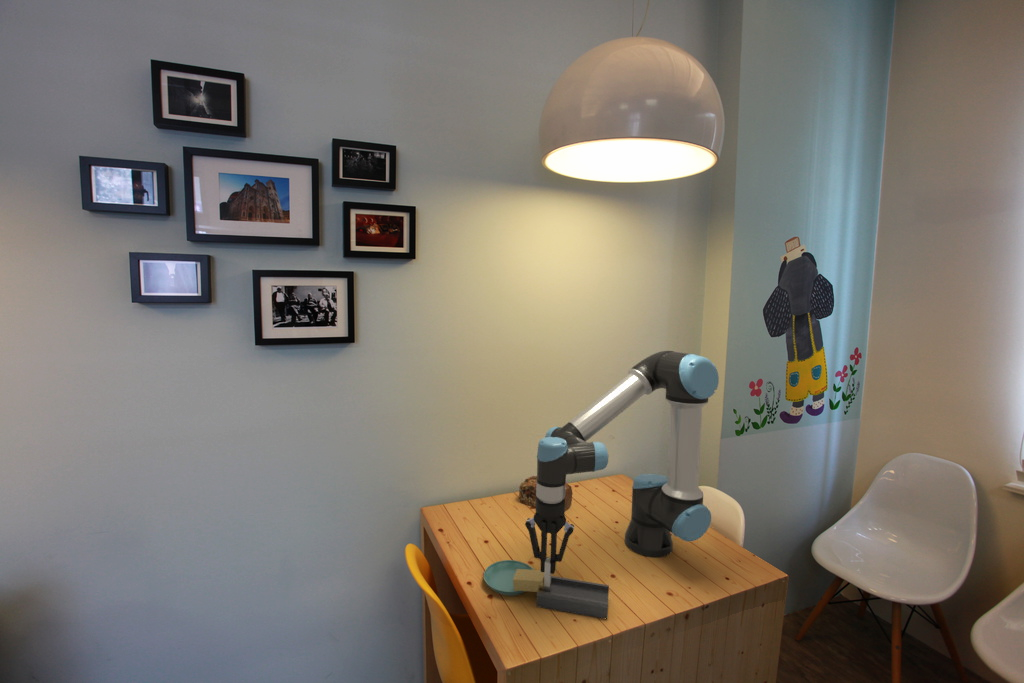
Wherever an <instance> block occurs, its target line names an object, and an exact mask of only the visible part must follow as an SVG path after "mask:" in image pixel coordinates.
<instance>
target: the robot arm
mask: <svg viewBox="0 0 1024 683" xmlns="http://www.w3.org/2000/svg"><path fill="white" fill-rule="evenodd" d="M719 377H720V376H719V371H718V369H717V367H716V365H715V364H714V363H713V362H712V361H711V360H710V359H709V358H707V357H705V356H701V355H698V354H695V353H687V352H681V351H680V352H678V351H673V350H661V351H658V352H655V353H653V354H650V355H649V356H647V357H645V358H643V359H642V360H640V361H639V362H637V363H636V364H635V365H633V367H631V368H629V370H628V371H627V376H625V377H624V378H622V379H621V380H620V381H619V382H617V384H615V385H613V387H611V388H610V389H609V390H607V391H606V392H605V393H603V395H601V396H600V397H599V398H597V399H596V400H594V401H593V402H592V403H591V404H590V405H589V406H588V407H586V408H585V409H583V410H582V411H581V412H580V413H579V414H577V415H576V416H575V417H572V419H571V420H570V421H569V422H567V423H565V425H563V426H562V427H560V426H553V427H551V428H549V429H548V430H547V432H546V433H545V436H544V437H543V438H540V440H539V441H538V445H537V453H536V454H537V455H536V460H537V461H536V462H537V464H536V476H537V485H536V496H537V498H536V508H535V513H534V514H533V517H532V518H531V517H529V518H527V519H526V521H525V523H524V525H525V527H526V529H527V531H528V534H529V539H530V543H531V549H532V553H533V558H535V559H538V560H540V570H541V572H544V586H546V587H550V583H551V576H552V574H553V575H554V574H555V573H556V567H557V564H556V563H557V562H558V563H561V562H562V560H563V558H564V554H565V552H566V549H567V548H566V547H567V544H568V541H569V538H570V536H571V535H572V534H573V533H574V528H575V525H574V524H573V523H569V522H568V521H567V517H566V514H565V499H564V498H565V484H566V483H567V482H566V481H567V480H566V479H567V475H575V474H581V473H582V474H583V473H591V472H592V473H595V472H597V471H601V470H605V469H606V468H607V467H608V464H609V452H608V448H607V447H606V445H605V444H604V443H602V442H601V441H590V442H587V441H588V440H590V439H591V438H592V437H594V436H595V435H596V434H597V433H598V432H600V431H601V430H602V429H603V428H604V427H606V426H607V425H608V424H609V423H611V422H612V421H613V420H615V419H616V418H617V417H618V416H619V415H620V414H622V413H623V412H624V411H626V410H627V409H628V408H629V407H630V406H632V405H633V404H634V403H636V402H637V401H638V400H639V399H641V398H642V397H643V396H644V395H651V394H652V393H653V392H654V391H656V390H659V389H665V400H666V401H667V402H668V403H669V404H670V409H669V410H670V413H669V414H670V415H669V432H668V433H669V435H668V436H669V438H668V456H667V457H668V459H667V460H668V461H667V476H666V475H664V474H663V475H662V474H656V473H644V474H639V475H636V476H635V477H634V478H633V482H632V487H631V488H632V489H631V490H632V492H631V494H632V495H631V516H630V517H631V518H630V521H629V524H628V526H627V528H626V531H625V532H624V544H625V546H626V547H627V548H628V549H629V550H630V551H632V552H634V553H636V554H639V555H641V556H645V557H650V558H661V557H666V556H668V555H670V554H672V552H673V546H674V541H673V537H672V535H673V536H675V537H676V538H678V539H680V540H682V541H685V542H694V541H697V540H699V539H700V538H702V537H703V536H704V535H705V534H706V533H707V531H708V529H709V527H710V526H711V522H712V513H711V510H709V507H707V506H706V505H704V492H703V490H702V489H701V488H700V487H699V481H700V480H699V478H700V477H699V475H700V456H701V455H700V454H701V437H702V420H703V418H702V417H703V415H702V414H703V408H704V406H706V405H707V404H708V403H709V398H711V397H712V396H713V395H714V394H715V392H716V390H717V389H718V387H719V383H720V378H719ZM536 525H537V528H538V529H539V530H540V532H541V533H540V537H541V539H540V540H541V542H540V544H539V540H538V536H537V530H536V527H535V526H536ZM563 527H564V528H563ZM561 529H563V531H564V535H563V538H562V541H561V544H560V548H559V551H558V553H557V543H558V533H559V532H560V531H561ZM548 534H550V557H548V556H547V555H548V553H547V552H548ZM539 545H540V546H539Z"/></svg>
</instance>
